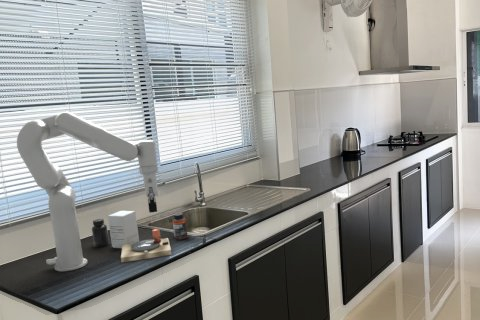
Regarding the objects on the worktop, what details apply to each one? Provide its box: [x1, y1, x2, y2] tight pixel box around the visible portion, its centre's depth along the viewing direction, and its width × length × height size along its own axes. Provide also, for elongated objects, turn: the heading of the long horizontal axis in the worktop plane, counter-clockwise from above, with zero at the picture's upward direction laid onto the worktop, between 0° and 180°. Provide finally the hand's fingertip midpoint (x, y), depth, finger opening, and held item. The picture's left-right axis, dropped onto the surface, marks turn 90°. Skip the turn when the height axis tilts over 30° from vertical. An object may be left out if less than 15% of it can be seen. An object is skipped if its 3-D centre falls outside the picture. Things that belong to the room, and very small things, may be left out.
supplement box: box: [107, 210, 140, 249], centre depth 202 cm, size 9×9×15 cm
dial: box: [131, 228, 162, 251], centre depth 189 cm, size 13×12×7 cm
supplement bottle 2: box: [172, 212, 188, 240], centre depth 205 cm, size 6×6×11 cm
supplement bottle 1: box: [91, 218, 110, 248], centre depth 205 cm, size 7×7×12 cm
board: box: [120, 237, 172, 263], centre depth 190 cm, size 20×18×3 cm
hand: (152, 209), depth 189 cm, fingers open, 9 cm apart
